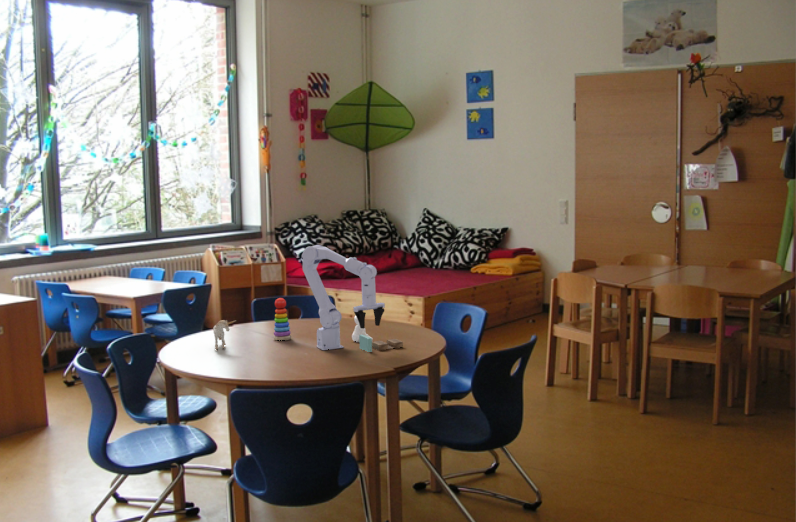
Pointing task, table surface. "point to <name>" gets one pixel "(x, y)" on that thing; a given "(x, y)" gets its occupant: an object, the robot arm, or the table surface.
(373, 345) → the slot block
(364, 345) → the teal rectangular block
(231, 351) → the table surface
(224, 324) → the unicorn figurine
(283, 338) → the stacking toy
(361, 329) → the sitting furry creature
